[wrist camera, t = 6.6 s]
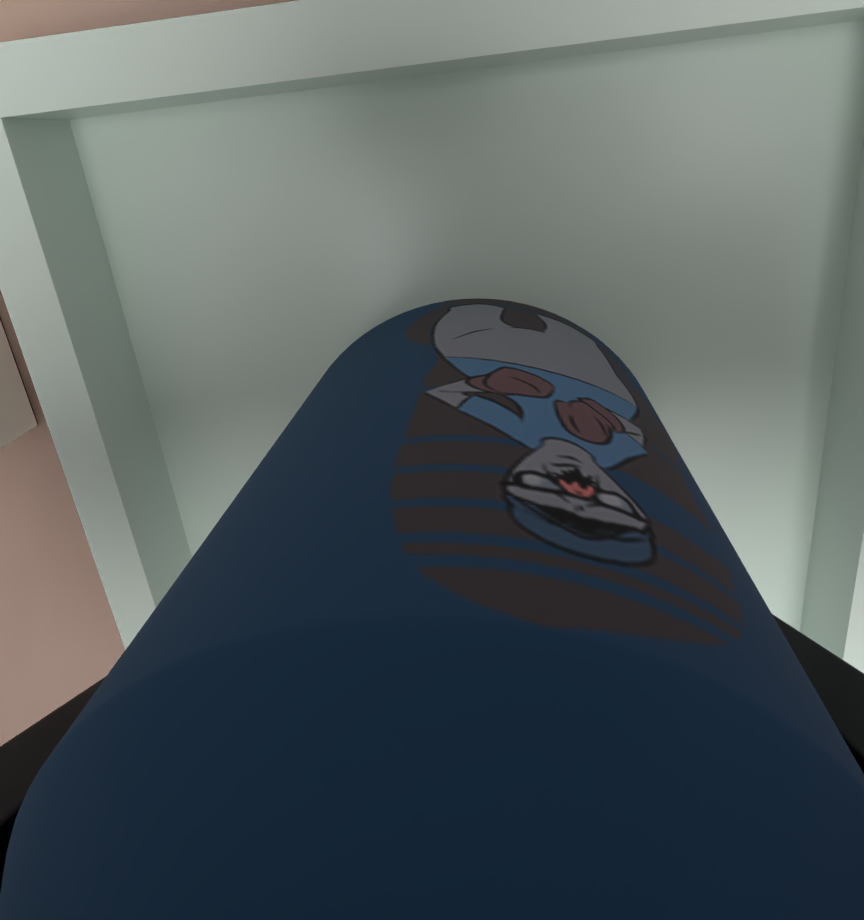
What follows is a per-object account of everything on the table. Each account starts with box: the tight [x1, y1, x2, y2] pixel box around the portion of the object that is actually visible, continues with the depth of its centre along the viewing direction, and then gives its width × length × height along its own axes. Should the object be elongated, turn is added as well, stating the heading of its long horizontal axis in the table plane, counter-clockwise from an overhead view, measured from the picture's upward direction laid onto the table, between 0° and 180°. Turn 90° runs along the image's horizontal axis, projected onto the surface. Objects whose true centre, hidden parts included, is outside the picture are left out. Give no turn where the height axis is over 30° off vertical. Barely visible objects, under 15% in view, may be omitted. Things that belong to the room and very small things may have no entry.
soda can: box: [0, 298, 864, 920], centre depth 9 cm, size 7×7×12 cm
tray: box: [0, 0, 864, 673], centre depth 14 cm, size 16×16×2 cm
